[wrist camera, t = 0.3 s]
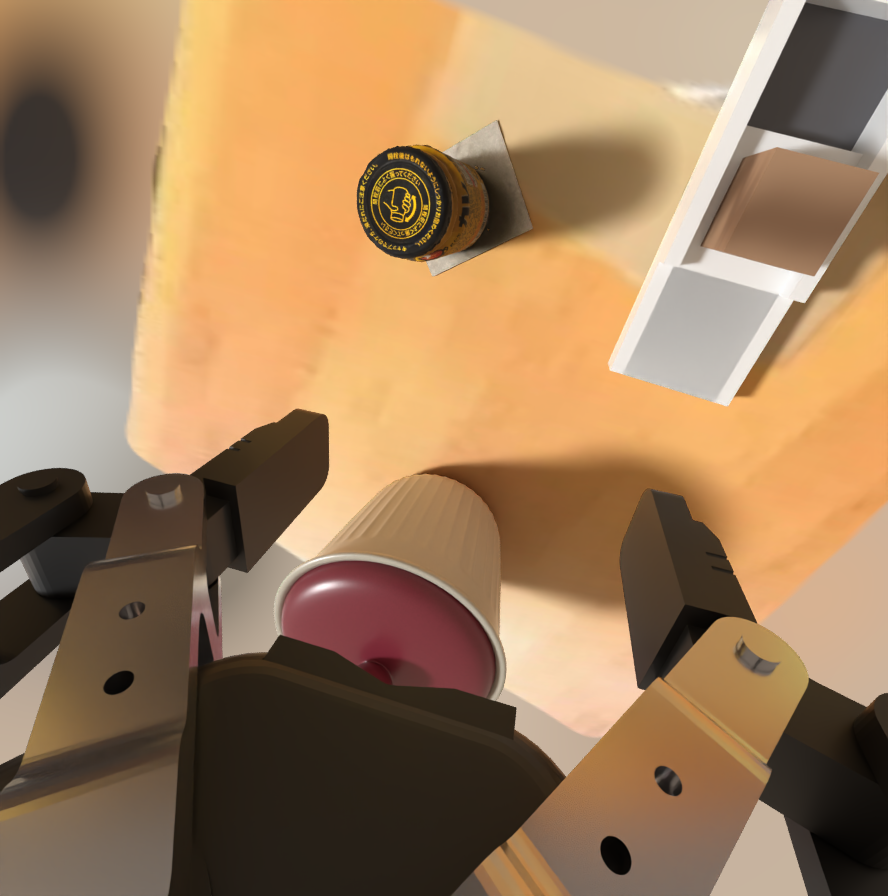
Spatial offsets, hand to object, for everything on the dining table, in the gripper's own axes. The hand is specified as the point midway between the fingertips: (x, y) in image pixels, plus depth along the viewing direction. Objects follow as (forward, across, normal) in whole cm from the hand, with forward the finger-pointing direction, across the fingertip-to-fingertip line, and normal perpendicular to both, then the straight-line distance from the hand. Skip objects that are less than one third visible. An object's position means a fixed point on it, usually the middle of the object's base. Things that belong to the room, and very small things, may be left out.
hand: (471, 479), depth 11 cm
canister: (+28, +5, +24) cm, 37 cm away
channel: (+28, -12, -7) cm, 31 cm away
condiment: (+28, +7, -5) cm, 29 cm away
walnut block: (+26, -12, -7) cm, 30 cm away
